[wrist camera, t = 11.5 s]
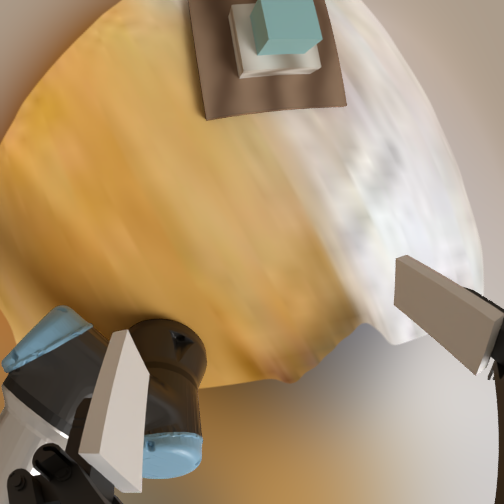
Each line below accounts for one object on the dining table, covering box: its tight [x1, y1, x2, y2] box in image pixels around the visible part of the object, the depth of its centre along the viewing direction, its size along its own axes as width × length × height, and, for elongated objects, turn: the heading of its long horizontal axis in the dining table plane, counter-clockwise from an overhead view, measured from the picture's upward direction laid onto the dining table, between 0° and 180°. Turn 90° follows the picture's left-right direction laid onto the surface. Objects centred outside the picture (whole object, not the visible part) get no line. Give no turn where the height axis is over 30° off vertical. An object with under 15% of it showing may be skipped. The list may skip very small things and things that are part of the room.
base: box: [188, 0, 347, 121], centre depth 31 cm, size 20×20×6 cm
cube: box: [250, 0, 323, 56], centre depth 26 cm, size 6×6×6 cm
